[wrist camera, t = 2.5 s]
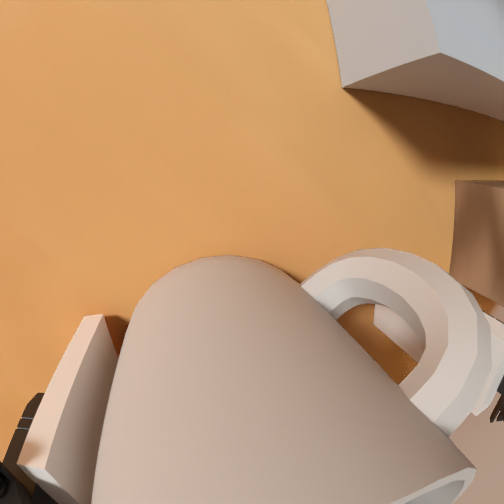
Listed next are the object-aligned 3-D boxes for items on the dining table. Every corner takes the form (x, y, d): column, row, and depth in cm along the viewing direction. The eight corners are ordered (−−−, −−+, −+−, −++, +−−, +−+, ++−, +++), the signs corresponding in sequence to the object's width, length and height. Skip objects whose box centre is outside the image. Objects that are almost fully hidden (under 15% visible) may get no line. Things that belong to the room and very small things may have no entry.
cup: (92, 339, 10) (29, 561, 2) (293, 151, 10) (584, 158, 1) (220, 428, 12) (266, 597, 4) (387, 289, 12) (548, 405, 4)
